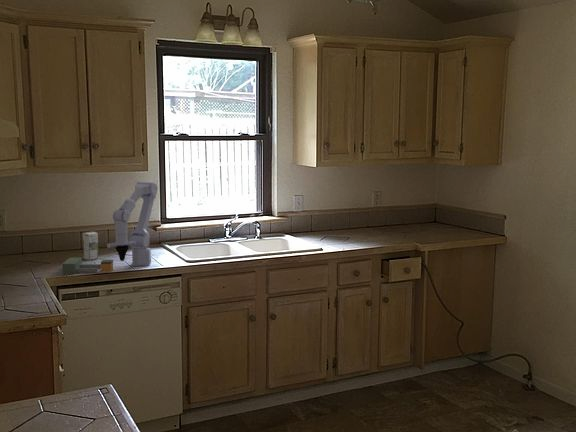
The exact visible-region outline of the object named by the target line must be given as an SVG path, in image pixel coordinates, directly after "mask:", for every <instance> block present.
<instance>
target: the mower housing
mask: <svg viewBox="0 0 576 432" xmlns="http://www.w3.org/2000/svg"><path fill="white" fill-rule="evenodd" d="M82 258H83V257H69V258H68V259H66V260H65V261H63V262H62V263H61V267H62V269H61V271H62V273H67V274H66V275H73V274H72V273H75V274H78V273H79V274H80V273H81V274H92V273H93V274H97V273H98V269H100V270H101V263H91V264H89V263H88V264H86V263H85V264H84V263H83V259H82Z"/></svg>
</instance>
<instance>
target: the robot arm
mask: <svg viewBox="0 0 576 432" xmlns="http://www.w3.org/2000/svg"><path fill="white" fill-rule="evenodd" d="M134 189H135V190H134V191H133V193H132V194H131V196H130V197H129V198H127V199H125V200H124V201H123V203H122V204H121V205H120V207H119V208H118V209H116V210H114V212H113V215H112V219H113V223H114V226H115V242H111V243H109V242H108V243H106V247H107V248H108V249H111V248H115V250H116V252H117V254H118V257H119V261H120V262H124V261H125V258H126V255H127V252H128V250H129V248H130V249H131V260H132V262H131V264H130V266H131V267H133V266H135V267H139V266H140V267H143V266H145V267H147V266H150V265H151V263H152V257H151V256H152V254H151V253H152V252H151V247H149V246H150V244H151V243H150V239H151V238H150V237H151V234H150V233H149V231H147V229H148V226H149V222H150V218H151V215H152V210H153V207H154V203H155V199H156V198H157V197H156V196H157V193H158V189H159V188H158V186H157V183H156V182H155V181H144V180H138V181H137V182H136V184H135V186H134ZM140 198H141V199H142V206H141V209H140V213H139V217H138V222H137V224H136V228H135V229H133V230H131V234H130V235H129V237H128V233H129V232H128V222H129V221H130V218H131V213H132V212H133V211H134V209H135V208H136V203H137V202H138V201H139V200H140Z"/></svg>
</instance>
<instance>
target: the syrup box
mask: <svg viewBox="0 0 576 432" xmlns="http://www.w3.org/2000/svg"><path fill="white" fill-rule="evenodd" d="M82 253H83V256H82V258H83V259H84V260H87V261H93V260H97V259H99V233H98V232H96V231H88V232H83V233H82Z"/></svg>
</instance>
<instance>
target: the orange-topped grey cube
mask: <svg viewBox="0 0 576 432" xmlns="http://www.w3.org/2000/svg"><path fill="white" fill-rule="evenodd" d="M100 264H101V269H100V272H101V271H111V272H112V271H114V259H102V260H101V261H100Z"/></svg>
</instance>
